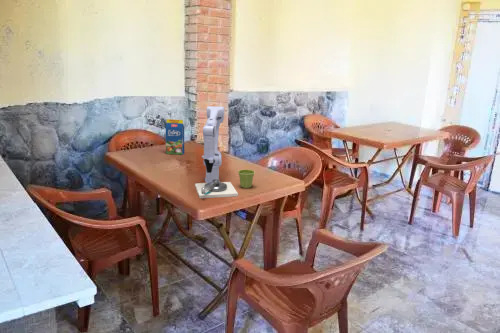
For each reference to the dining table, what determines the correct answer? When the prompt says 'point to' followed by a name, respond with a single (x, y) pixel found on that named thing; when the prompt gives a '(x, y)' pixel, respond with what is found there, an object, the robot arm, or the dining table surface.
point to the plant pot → (246, 178)
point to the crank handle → (214, 187)
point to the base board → (226, 193)
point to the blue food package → (174, 137)
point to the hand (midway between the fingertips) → (209, 172)
